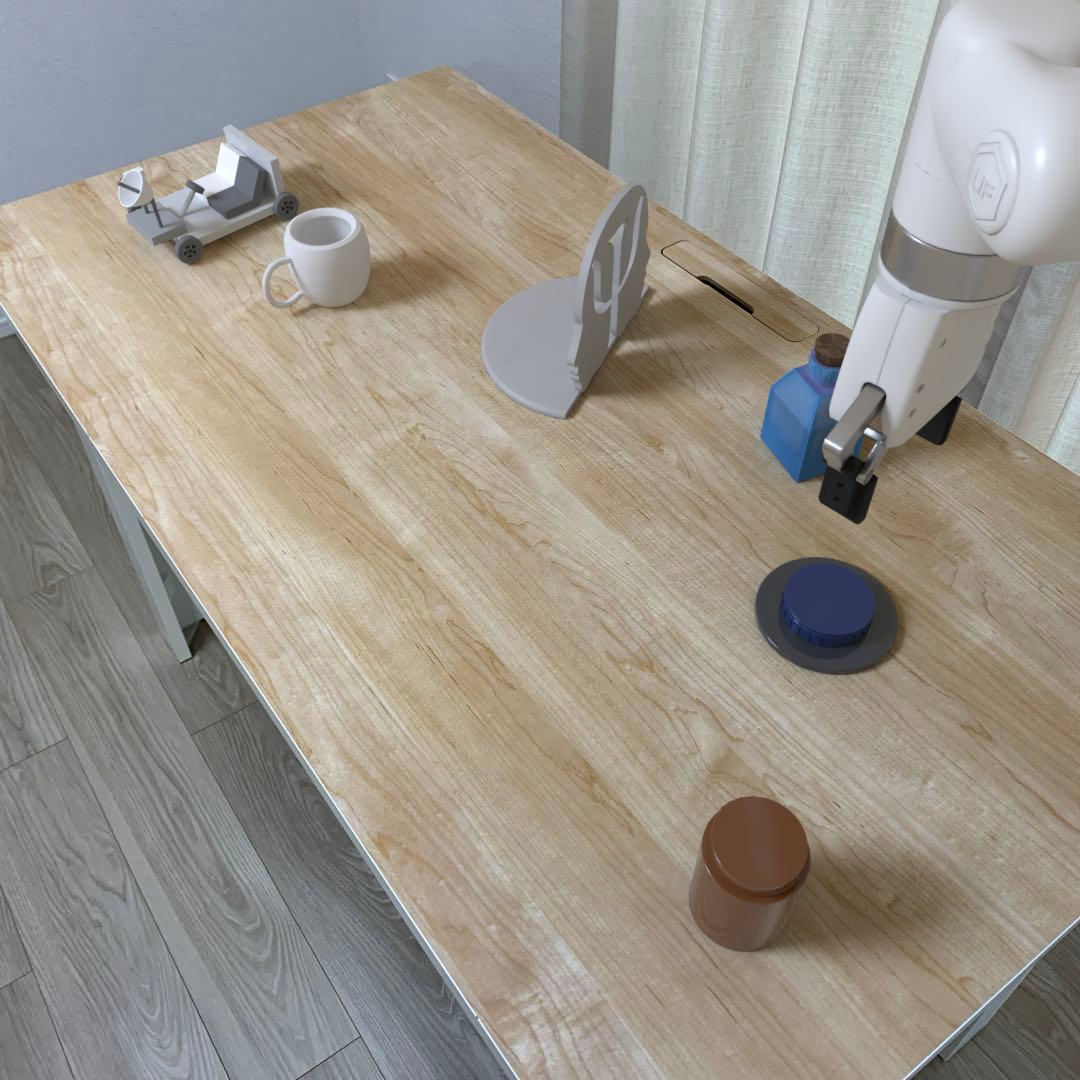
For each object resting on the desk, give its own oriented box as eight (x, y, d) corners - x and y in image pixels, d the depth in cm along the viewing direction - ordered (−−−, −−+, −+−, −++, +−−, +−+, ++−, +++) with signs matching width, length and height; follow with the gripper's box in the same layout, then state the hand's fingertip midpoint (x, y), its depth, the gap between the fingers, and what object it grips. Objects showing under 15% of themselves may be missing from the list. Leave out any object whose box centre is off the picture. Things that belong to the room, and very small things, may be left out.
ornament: (566, 421, 97) (568, 270, 84) (441, 381, 101) (424, 231, 88) (653, 288, 110) (665, 139, 97) (538, 258, 113) (536, 110, 101)
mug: (349, 258, 114) (337, 193, 108) (391, 295, 110) (382, 230, 104) (251, 301, 109) (233, 236, 103) (291, 342, 105) (275, 276, 99)
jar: (809, 912, 67) (838, 852, 60) (735, 972, 65) (756, 917, 58) (741, 836, 71) (762, 770, 64) (668, 890, 68) (681, 829, 61)
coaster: (926, 628, 82) (928, 623, 81) (825, 699, 78) (827, 695, 77) (824, 540, 87) (825, 536, 87) (725, 603, 83) (726, 598, 83)
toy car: (131, 196, 105) (79, 152, 110) (160, 278, 112) (110, 233, 118) (284, 133, 112) (228, 94, 118) (301, 214, 120) (248, 174, 125)
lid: (762, 601, 83) (765, 588, 81) (827, 562, 85) (831, 549, 84) (823, 663, 79) (828, 650, 78) (890, 620, 81) (895, 607, 80)
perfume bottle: (760, 437, 95) (781, 333, 86) (818, 418, 97) (845, 313, 88) (796, 482, 92) (823, 378, 82) (856, 462, 93) (889, 357, 84)
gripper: (974, 160, 62) (903, 383, 75) (802, 288, 54) (757, 513, 67) (1096, 207, 58) (1000, 432, 71) (932, 351, 50) (857, 576, 63)
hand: (882, 471), depth 69 cm, fingers open, 9 cm apart
